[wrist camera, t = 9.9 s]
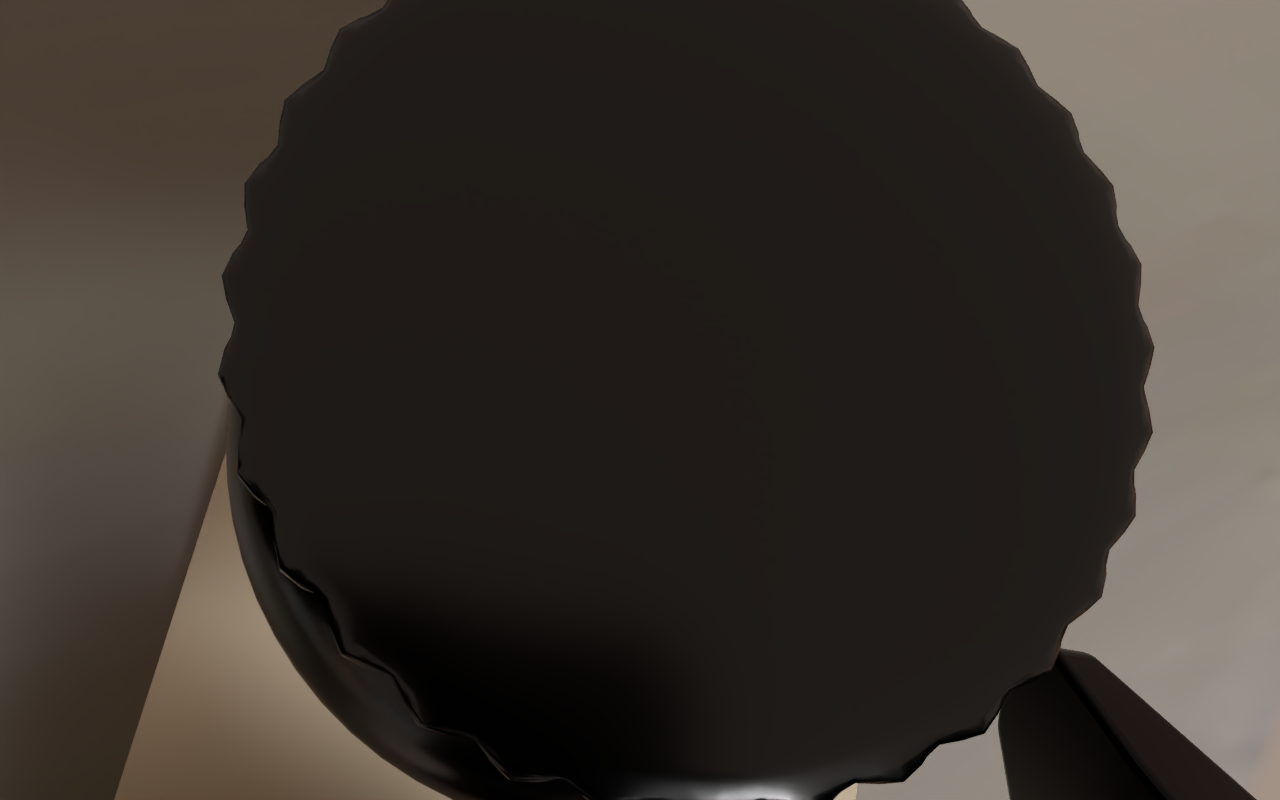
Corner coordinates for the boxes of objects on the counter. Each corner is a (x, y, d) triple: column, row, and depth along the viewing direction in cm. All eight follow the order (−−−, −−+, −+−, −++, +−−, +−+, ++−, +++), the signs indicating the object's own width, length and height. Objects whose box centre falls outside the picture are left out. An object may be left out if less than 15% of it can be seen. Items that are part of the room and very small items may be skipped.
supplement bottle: (301, 423, 16) (-299, -56, 4) (638, 262, 17) (918, -425, 6) (481, 783, 15) (392, 1496, 3) (818, 580, 16) (1583, 567, 5)
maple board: (801, 986, 16) (825, 1017, 15) (116, 868, 15) (84, 892, 14) (892, 359, 19) (918, 343, 18) (322, 217, 18) (310, 191, 16)
